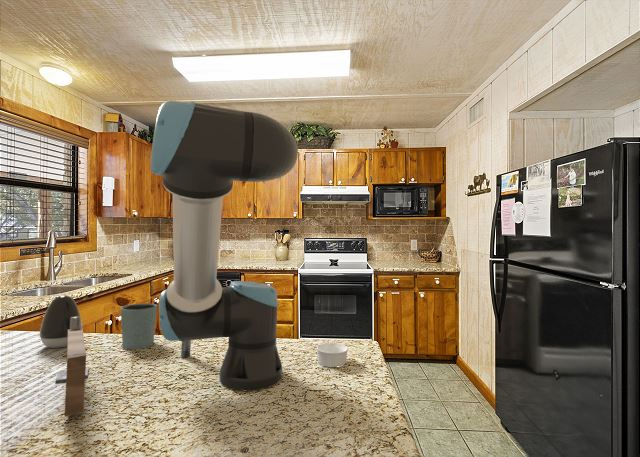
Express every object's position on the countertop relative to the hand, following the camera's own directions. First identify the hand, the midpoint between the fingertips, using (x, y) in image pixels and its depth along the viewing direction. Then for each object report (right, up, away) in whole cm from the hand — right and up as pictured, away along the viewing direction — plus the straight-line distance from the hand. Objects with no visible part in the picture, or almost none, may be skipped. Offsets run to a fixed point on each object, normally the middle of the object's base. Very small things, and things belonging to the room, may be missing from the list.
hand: (198, 269), depth 98 cm
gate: (-16, -22, -29) cm, 40 cm away
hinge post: (-23, -23, -19) cm, 38 cm away
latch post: (-2, -24, -5) cm, 25 cm away
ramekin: (+40, -26, -6) cm, 48 cm away
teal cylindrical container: (-21, -24, +4) cm, 32 cm away
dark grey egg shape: (-43, -24, +2) cm, 49 cm away
